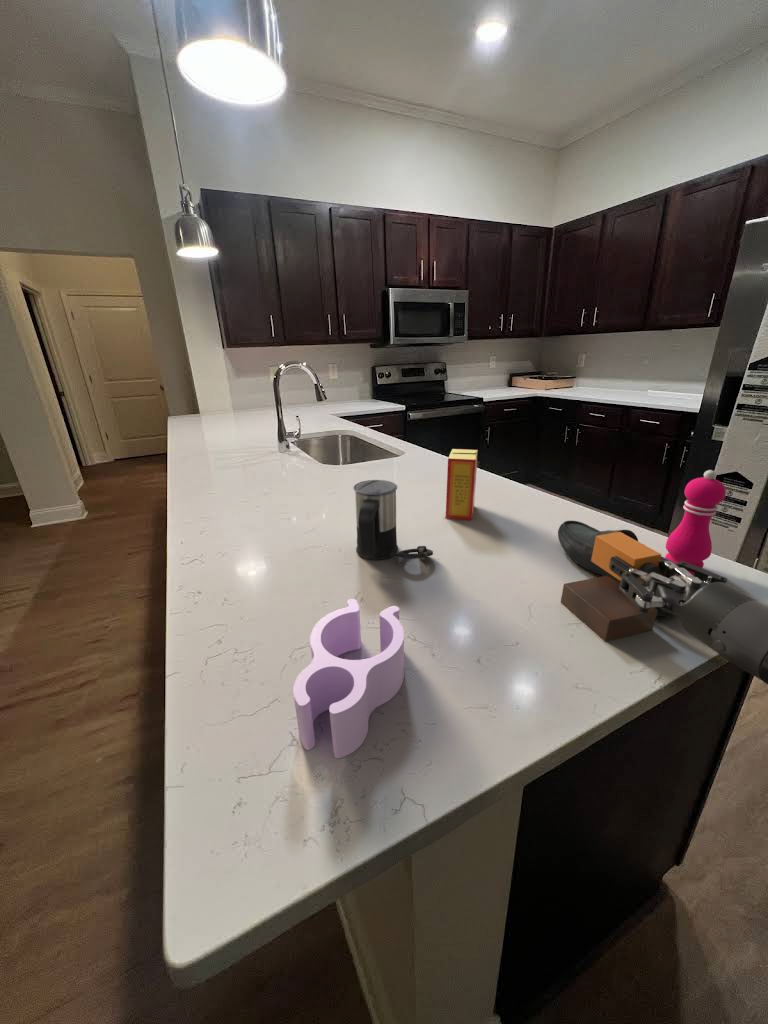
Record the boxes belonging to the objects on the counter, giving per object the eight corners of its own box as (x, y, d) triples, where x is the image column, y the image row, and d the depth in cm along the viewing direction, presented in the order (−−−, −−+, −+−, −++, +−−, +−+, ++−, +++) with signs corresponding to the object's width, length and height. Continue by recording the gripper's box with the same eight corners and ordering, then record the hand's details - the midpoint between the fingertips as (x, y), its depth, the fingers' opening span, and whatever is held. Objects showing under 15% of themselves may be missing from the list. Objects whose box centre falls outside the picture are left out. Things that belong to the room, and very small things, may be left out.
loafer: (579, 538, 95) (587, 496, 90) (704, 613, 69) (723, 559, 65) (540, 546, 92) (546, 503, 88) (656, 627, 66) (672, 571, 62)
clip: (373, 768, 46) (371, 723, 43) (273, 740, 49) (265, 696, 46) (414, 646, 63) (415, 608, 60) (338, 632, 67) (335, 595, 64)
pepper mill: (712, 571, 81) (745, 472, 73) (690, 580, 78) (722, 479, 70) (674, 555, 87) (701, 462, 79) (652, 563, 84) (678, 468, 76)
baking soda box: (471, 520, 105) (475, 458, 99) (445, 517, 107) (448, 457, 100) (473, 506, 113) (478, 448, 107) (449, 504, 115) (452, 447, 109)
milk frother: (355, 541, 96) (352, 480, 90) (423, 537, 97) (424, 476, 91) (358, 574, 83) (354, 505, 77) (436, 568, 84) (439, 500, 78)
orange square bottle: (661, 585, 61) (669, 558, 59) (635, 591, 60) (642, 563, 58) (614, 556, 69) (619, 531, 67) (590, 561, 68) (595, 535, 66)
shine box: (652, 630, 66) (658, 610, 64) (604, 641, 63) (609, 621, 62) (603, 593, 75) (607, 575, 73) (560, 602, 73) (563, 583, 71)
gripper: (798, 591, 48) (669, 530, 64) (702, 614, 45) (590, 544, 60) (775, 642, 51) (658, 572, 67) (684, 667, 48) (581, 588, 63)
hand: (626, 559), depth 63 cm, fingers closed on orange square bottle, 4 cm apart
